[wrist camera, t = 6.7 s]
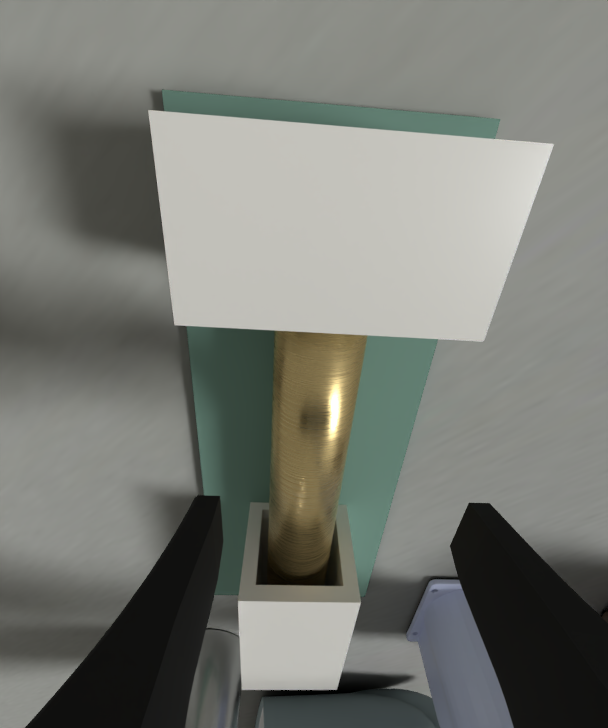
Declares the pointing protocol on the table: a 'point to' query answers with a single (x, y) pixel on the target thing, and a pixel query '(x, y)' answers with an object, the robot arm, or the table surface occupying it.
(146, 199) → the table surface
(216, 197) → the socket
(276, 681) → the sleeve
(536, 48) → the table surface
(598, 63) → the table surface
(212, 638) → the white tall cylinder
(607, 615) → the plant pot
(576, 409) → the table surface
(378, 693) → the pencil case
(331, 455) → the tube
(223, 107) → the mat
